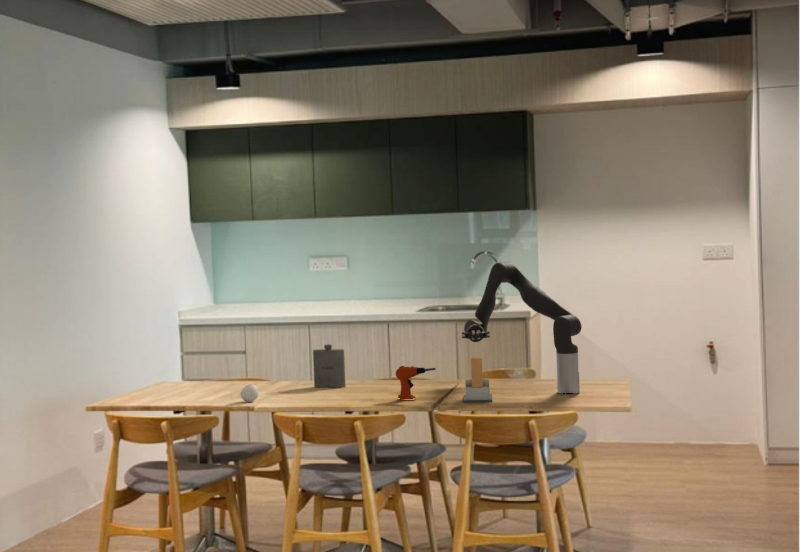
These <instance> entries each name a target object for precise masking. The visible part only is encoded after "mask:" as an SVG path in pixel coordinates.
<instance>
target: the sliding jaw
mask: <svg viewBox="0 0 800 552" xmlns="http://www.w3.org/2000/svg"><path fill="white" fill-rule="evenodd" d="M482 380H483V387H489V388H490V378H482ZM465 387H472V378H466V379H465Z"/></svg>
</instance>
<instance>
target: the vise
mask: <svg viewBox="0 0 800 552" xmlns="http://www.w3.org/2000/svg"><path fill="white" fill-rule="evenodd" d="M464 389H465V390H464V391H465V392H464V393H465V394H463V397H462V398H463V399H462V400H463V402H462V403H464V404H465V403H469V404H470V403H493V394H492V393H491V392H490V386H489V387H466V386H465V388H464Z"/></svg>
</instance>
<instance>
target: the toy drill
mask: <svg viewBox="0 0 800 552" xmlns="http://www.w3.org/2000/svg"><path fill="white" fill-rule="evenodd" d="M436 370H437V368H436V367H430V368H428V367H427V368H425V367H423V366H422V367H418V366H413V365H412V366H404V365H401V366H399V367H398V368H397V369H396V371H395V376H396V378H397V379H398V380H399V382H400V394H398V396H397V399H398V398H400V399H413V398H416V397H417V396H415V395H413V394H412V393H411V389H412V388H413V387H414V383H413V382H412V380H411V379H412V378H414V377H416V376H419V375H421V374H425V372H429V371H436Z"/></svg>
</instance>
